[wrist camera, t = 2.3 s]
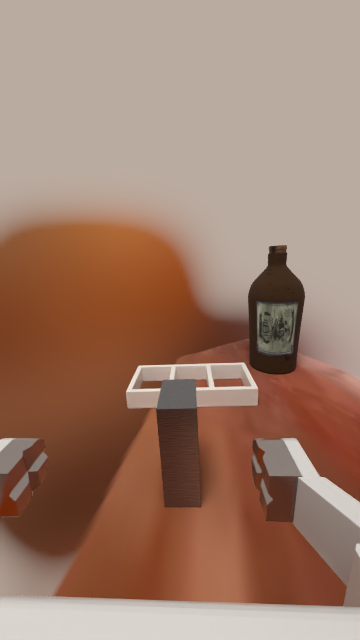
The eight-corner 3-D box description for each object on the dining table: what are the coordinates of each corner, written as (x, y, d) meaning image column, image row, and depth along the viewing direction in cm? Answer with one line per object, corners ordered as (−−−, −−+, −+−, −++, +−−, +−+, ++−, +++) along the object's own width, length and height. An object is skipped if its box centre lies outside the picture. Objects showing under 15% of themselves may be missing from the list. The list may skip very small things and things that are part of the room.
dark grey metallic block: (198, 463, 27) (195, 378, 24) (200, 507, 22) (197, 408, 19) (169, 463, 27) (162, 379, 24) (164, 507, 22) (156, 409, 20)
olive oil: (247, 353, 57) (249, 248, 51) (294, 356, 54) (302, 245, 48) (246, 373, 47) (248, 246, 41) (303, 378, 44) (315, 242, 38)
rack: (243, 375, 46) (243, 361, 46) (257, 405, 37) (258, 388, 36) (140, 378, 48) (138, 365, 47) (127, 408, 38) (125, 392, 37)
